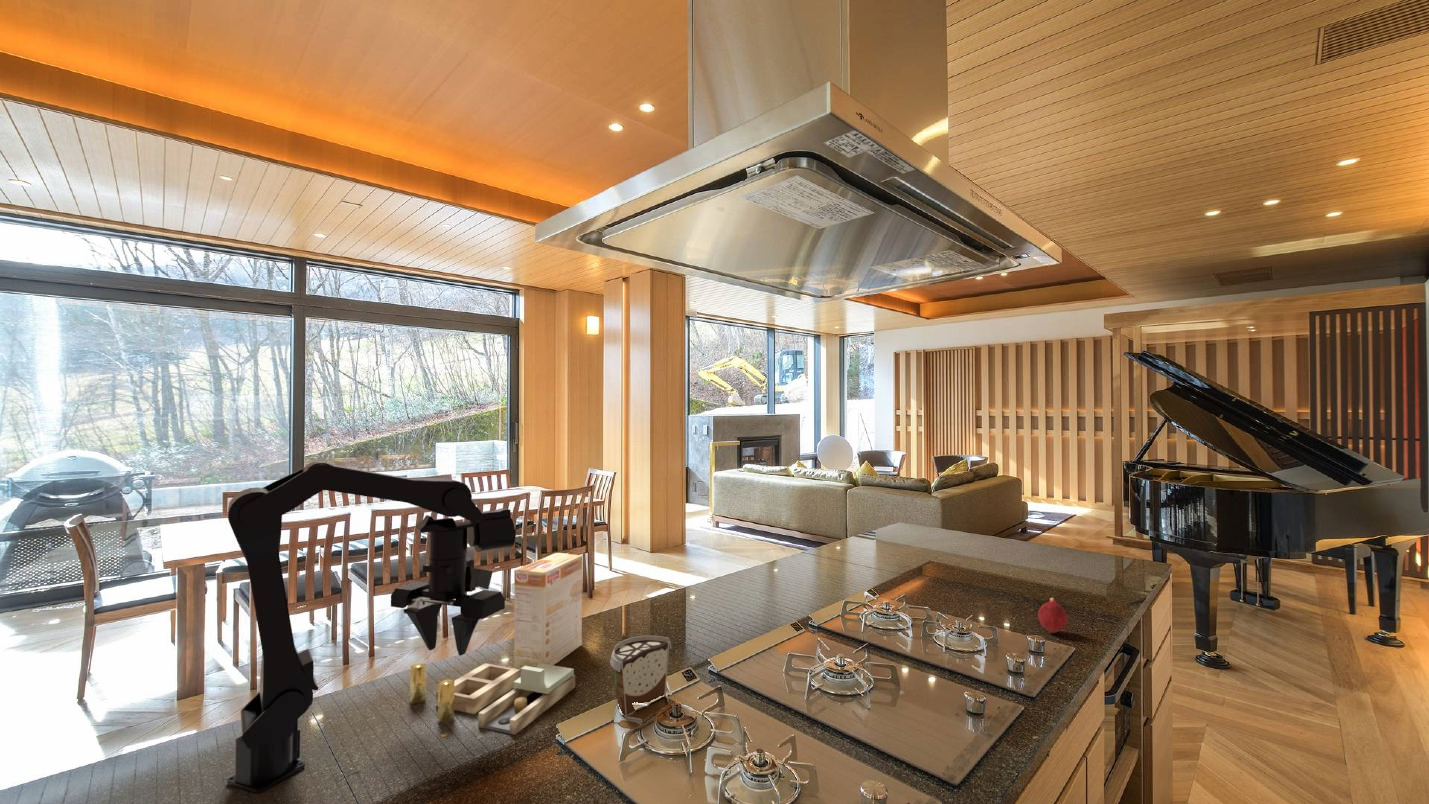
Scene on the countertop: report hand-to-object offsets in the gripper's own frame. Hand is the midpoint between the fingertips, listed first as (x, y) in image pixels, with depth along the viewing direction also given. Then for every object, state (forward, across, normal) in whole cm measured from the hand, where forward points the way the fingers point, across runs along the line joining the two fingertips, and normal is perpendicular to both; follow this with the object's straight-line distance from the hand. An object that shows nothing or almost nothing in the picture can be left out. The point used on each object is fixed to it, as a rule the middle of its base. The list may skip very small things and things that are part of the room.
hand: (446, 651), depth 97 cm
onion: (+11, -102, -77) cm, 128 cm away
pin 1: (+11, +10, -4) cm, 15 cm away
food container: (+11, -26, -16) cm, 33 cm away
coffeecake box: (+11, -1, -27) cm, 29 cm away
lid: (+9, -10, -13) cm, 18 cm away
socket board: (+11, +1, -9) cm, 14 cm away
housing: (+11, -10, -8) cm, 17 cm away
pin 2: (+11, 0, 0) cm, 11 cm away
